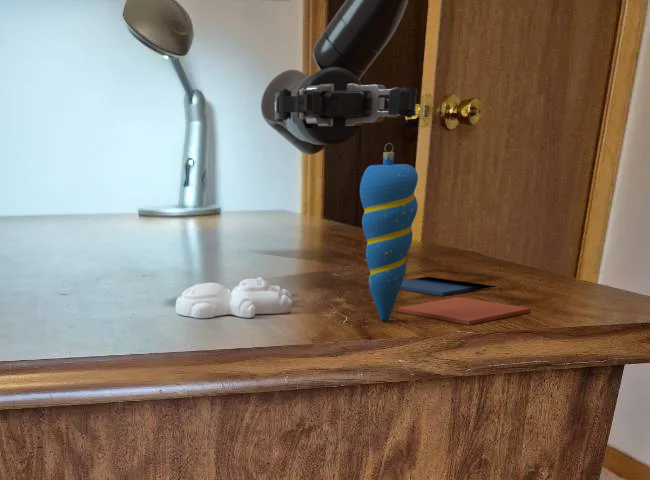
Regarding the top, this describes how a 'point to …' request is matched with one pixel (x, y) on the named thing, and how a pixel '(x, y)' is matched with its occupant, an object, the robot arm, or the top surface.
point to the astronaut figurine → (234, 300)
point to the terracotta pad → (464, 310)
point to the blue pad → (440, 286)
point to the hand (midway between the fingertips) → (360, 101)
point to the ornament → (387, 227)
